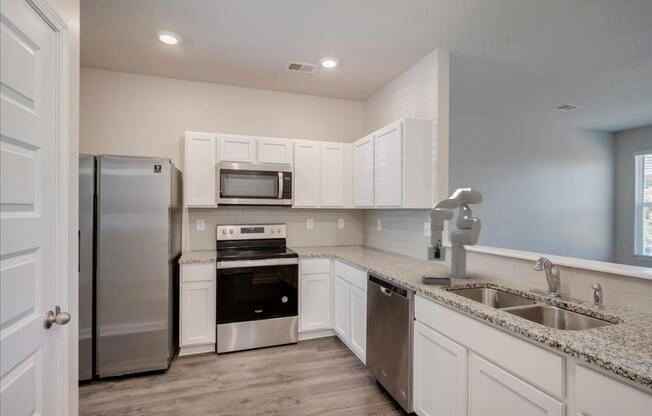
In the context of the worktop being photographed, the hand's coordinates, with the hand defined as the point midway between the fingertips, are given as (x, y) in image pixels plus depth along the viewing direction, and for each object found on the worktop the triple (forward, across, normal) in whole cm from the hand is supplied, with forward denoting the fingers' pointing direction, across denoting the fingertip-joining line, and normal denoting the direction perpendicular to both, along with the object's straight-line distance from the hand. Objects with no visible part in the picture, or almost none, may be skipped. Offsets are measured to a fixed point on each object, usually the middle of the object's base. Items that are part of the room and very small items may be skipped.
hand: (436, 257), depth 202 cm
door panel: (+2, 0, 0) cm, 2 cm away
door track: (+16, 0, 0) cm, 16 cm away
